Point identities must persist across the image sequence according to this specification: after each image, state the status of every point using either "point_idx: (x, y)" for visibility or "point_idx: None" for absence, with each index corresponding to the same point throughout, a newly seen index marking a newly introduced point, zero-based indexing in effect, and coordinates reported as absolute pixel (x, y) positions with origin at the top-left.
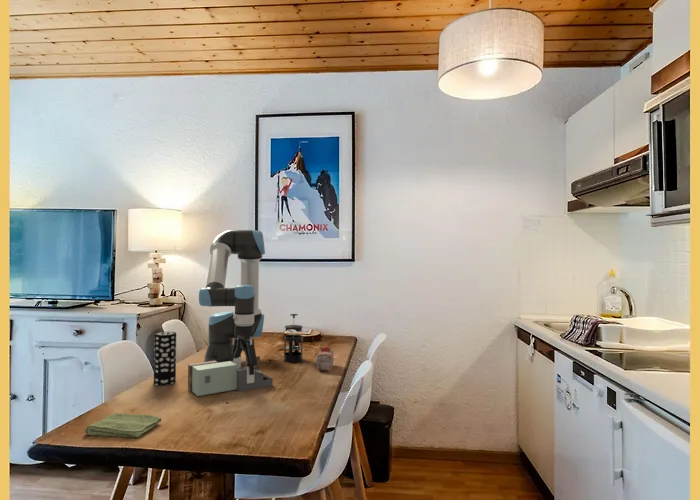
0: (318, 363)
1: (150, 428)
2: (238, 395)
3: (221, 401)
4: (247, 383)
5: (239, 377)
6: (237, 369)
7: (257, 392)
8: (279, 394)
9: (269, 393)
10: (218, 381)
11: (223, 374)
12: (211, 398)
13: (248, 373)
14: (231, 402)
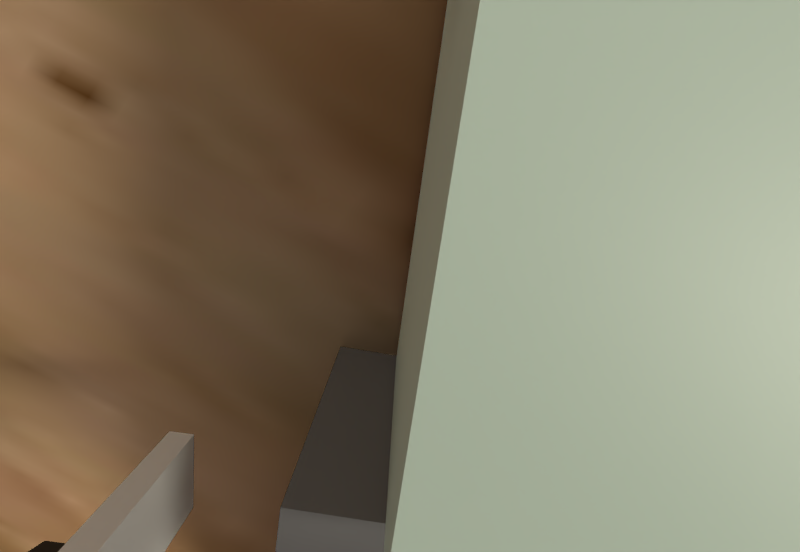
0: None
1: None
2: (230, 286)
3: (144, 53)
4: (170, 431)
5: (309, 440)
6: None
7: (211, 451)
8: None
9: None
10: (431, 160)
11: (422, 259)
12: (306, 11)
13: (70, 549)
14: (59, 124)
